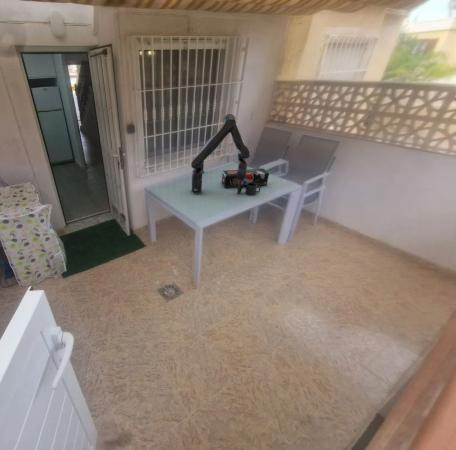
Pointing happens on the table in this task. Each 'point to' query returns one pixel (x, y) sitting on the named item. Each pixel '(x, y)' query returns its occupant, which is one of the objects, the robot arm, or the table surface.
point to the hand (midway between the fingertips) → (239, 190)
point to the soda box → (251, 177)
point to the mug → (251, 188)
